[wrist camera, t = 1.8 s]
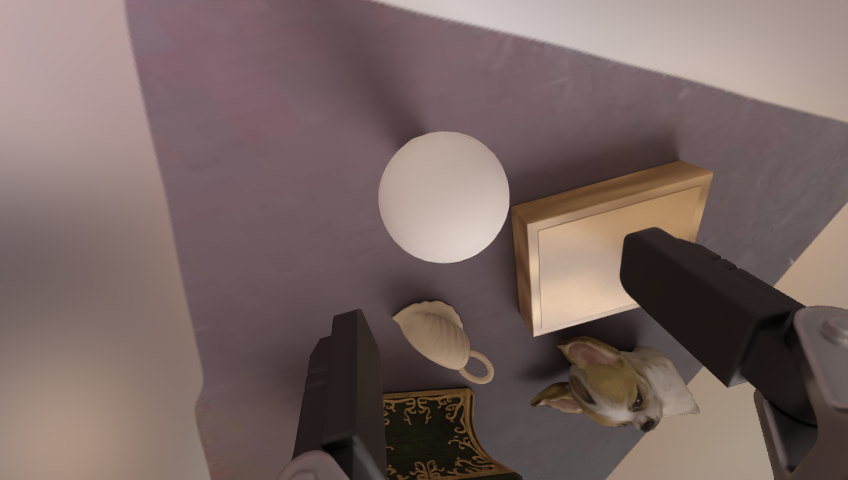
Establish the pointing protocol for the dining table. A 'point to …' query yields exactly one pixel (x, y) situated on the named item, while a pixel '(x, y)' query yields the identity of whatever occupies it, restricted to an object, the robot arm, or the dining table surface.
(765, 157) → the dining table surface
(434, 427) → the decorative box
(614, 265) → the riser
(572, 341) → the ceramic sculpture
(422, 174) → the lightbulb
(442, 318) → the decorative ornament
